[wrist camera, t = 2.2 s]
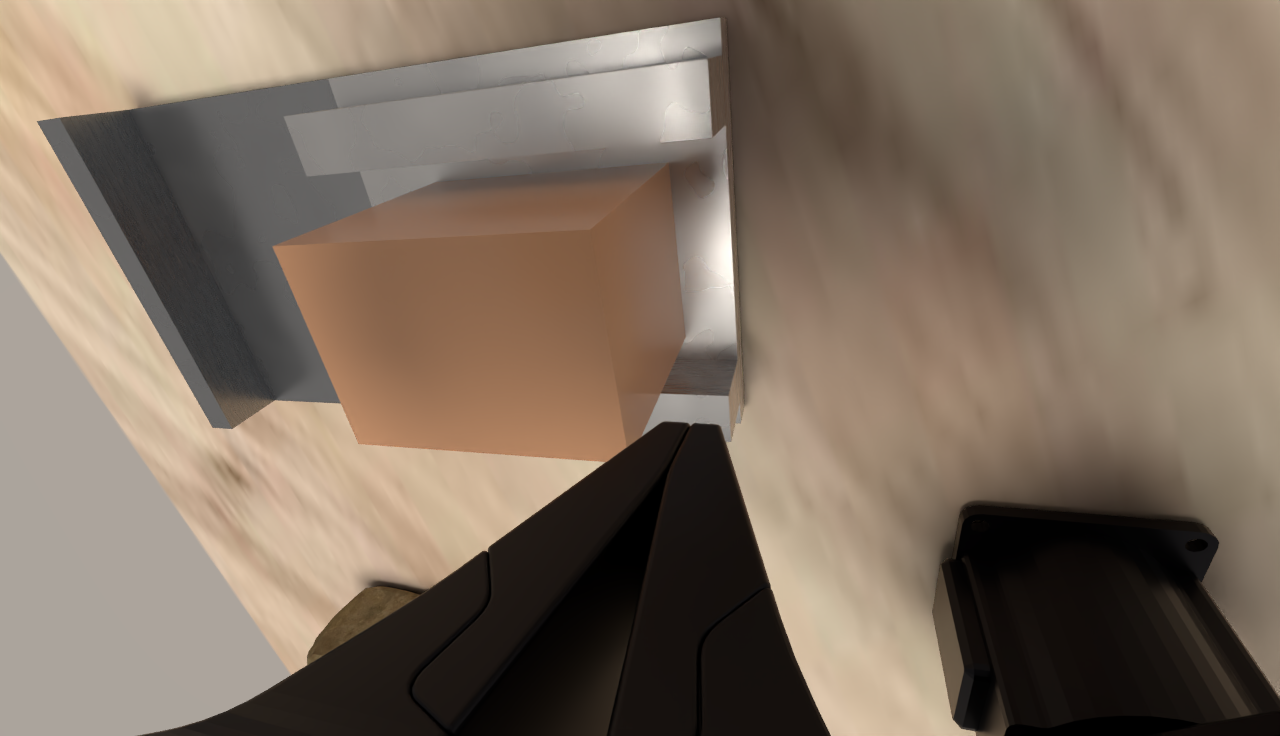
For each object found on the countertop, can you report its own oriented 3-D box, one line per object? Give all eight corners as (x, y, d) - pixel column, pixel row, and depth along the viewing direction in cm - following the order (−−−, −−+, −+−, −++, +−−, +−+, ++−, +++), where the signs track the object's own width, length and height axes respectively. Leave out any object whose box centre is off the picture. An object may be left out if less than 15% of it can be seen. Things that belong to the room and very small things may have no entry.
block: (668, 162, 15) (589, 229, 10) (685, 337, 17) (629, 463, 12) (435, 182, 17) (272, 246, 12) (479, 336, 19) (358, 443, 14)
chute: (726, 18, 14) (704, 15, 11) (744, 406, 19) (732, 462, 16) (137, 109, 20) (36, 121, 17) (274, 387, 25) (212, 427, 22)
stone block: (361, 571, 31) (288, 657, 26) (564, 613, 28) (519, 716, 24) (389, 640, 33) (328, 728, 29) (576, 685, 31) (538, 789, 26)
